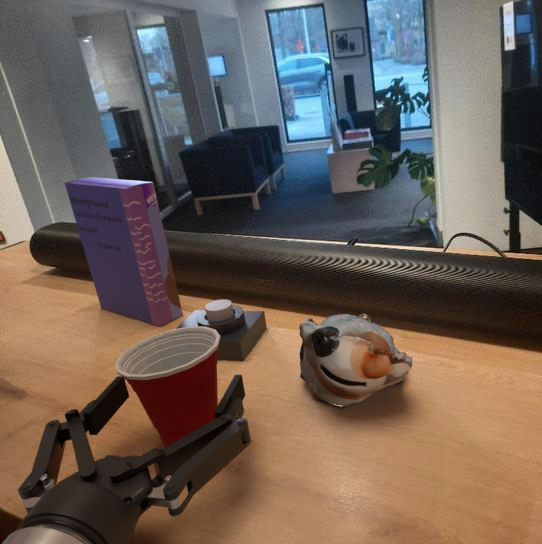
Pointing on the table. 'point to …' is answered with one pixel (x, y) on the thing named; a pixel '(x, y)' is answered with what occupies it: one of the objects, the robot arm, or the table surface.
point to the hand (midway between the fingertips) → (181, 385)
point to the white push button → (219, 310)
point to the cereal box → (126, 248)
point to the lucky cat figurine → (349, 358)
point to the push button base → (232, 331)
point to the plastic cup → (174, 379)
